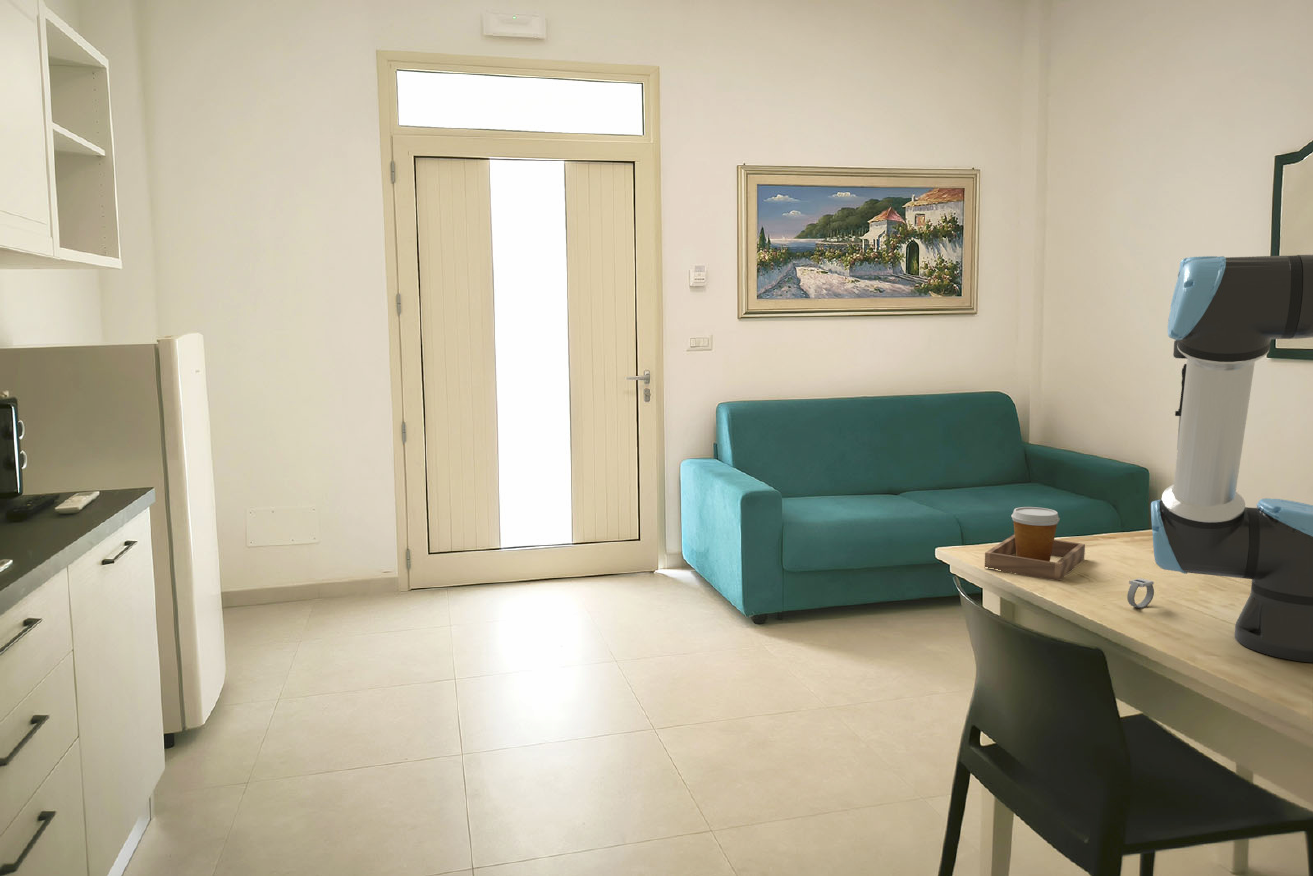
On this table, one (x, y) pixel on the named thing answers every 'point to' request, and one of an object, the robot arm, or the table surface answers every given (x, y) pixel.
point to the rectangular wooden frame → (1055, 571)
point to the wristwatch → (1133, 588)
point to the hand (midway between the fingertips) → (1189, 446)
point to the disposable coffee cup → (1034, 532)
